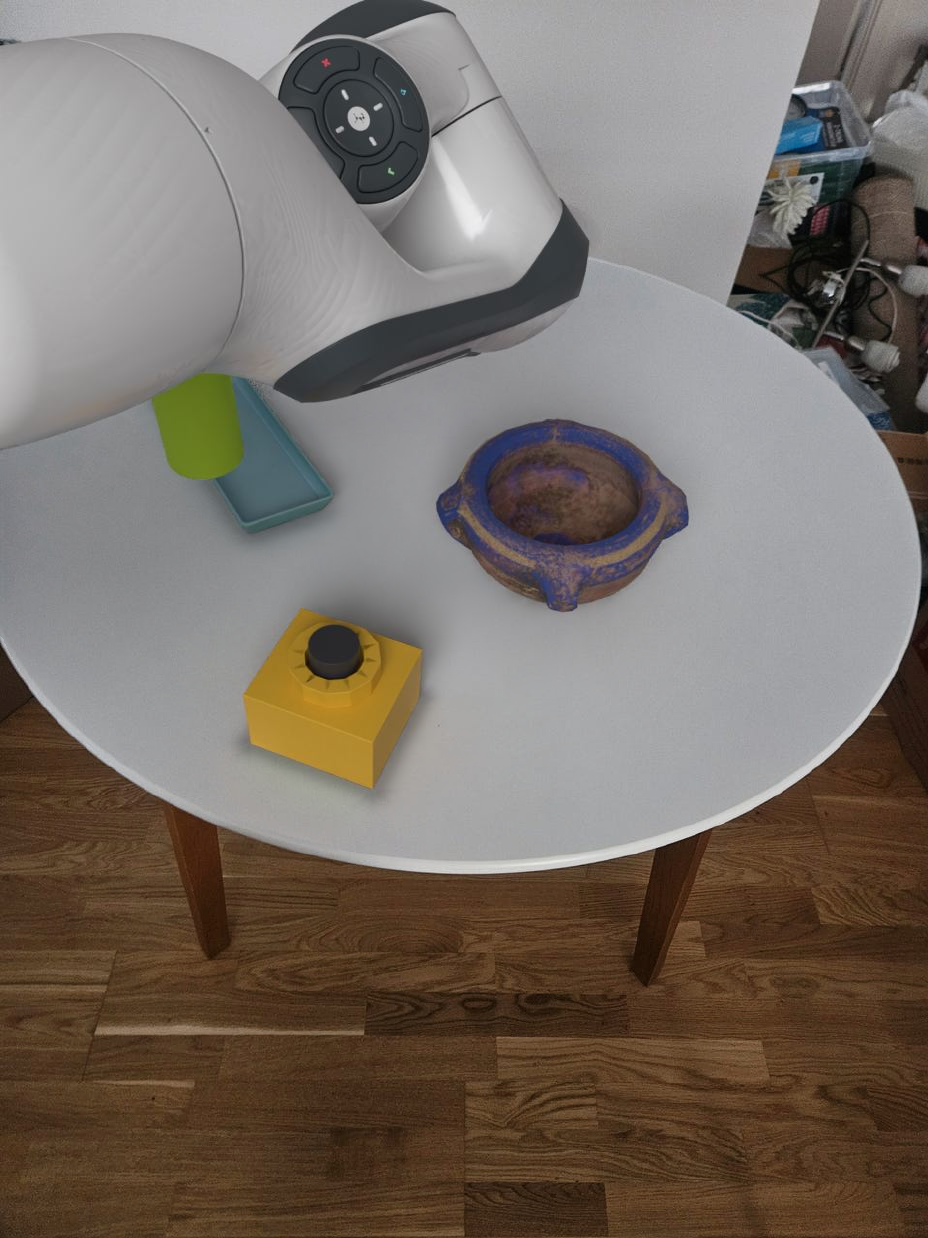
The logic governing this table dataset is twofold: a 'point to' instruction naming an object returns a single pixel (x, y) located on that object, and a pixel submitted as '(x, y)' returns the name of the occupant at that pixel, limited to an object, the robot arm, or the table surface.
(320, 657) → the black cylinder
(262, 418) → the rectangular tray
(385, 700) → the yellow push button box
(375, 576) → the table surface
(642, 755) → the table surface
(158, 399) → the soap dispenser
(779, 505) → the table surface
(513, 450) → the bowl
